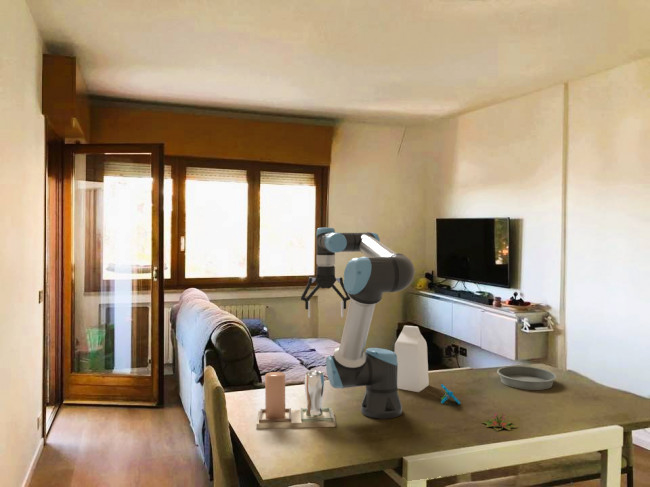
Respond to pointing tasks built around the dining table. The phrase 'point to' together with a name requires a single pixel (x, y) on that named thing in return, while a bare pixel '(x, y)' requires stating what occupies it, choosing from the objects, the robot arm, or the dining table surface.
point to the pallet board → (297, 419)
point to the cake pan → (526, 377)
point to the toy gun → (448, 395)
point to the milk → (411, 360)
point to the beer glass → (314, 393)
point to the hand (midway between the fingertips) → (325, 317)
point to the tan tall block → (275, 395)
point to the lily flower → (498, 421)
